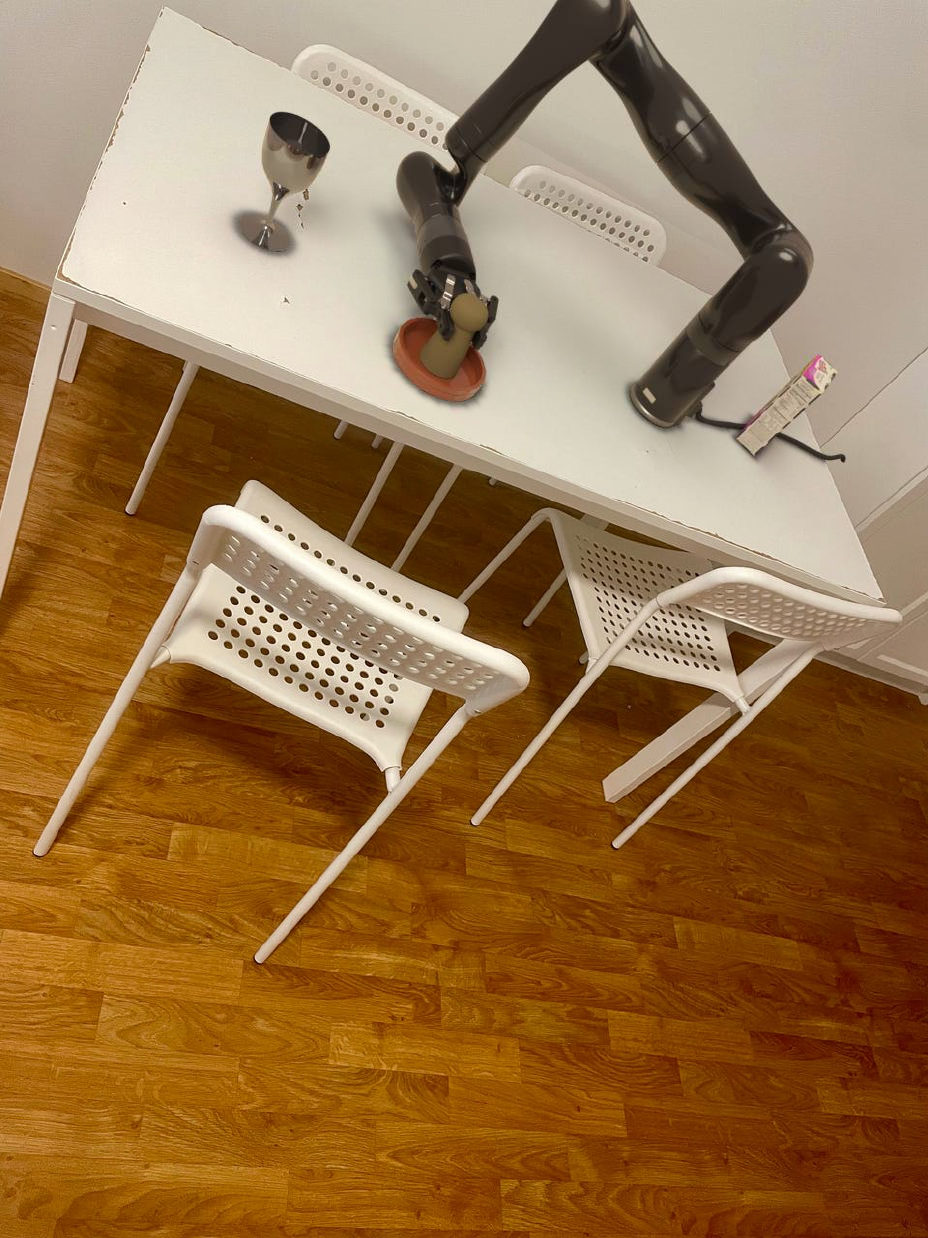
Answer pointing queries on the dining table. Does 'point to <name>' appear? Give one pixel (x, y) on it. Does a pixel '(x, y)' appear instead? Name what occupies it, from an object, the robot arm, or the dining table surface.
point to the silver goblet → (285, 172)
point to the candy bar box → (787, 404)
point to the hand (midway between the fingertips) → (464, 339)
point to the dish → (408, 359)
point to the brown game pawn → (455, 337)
